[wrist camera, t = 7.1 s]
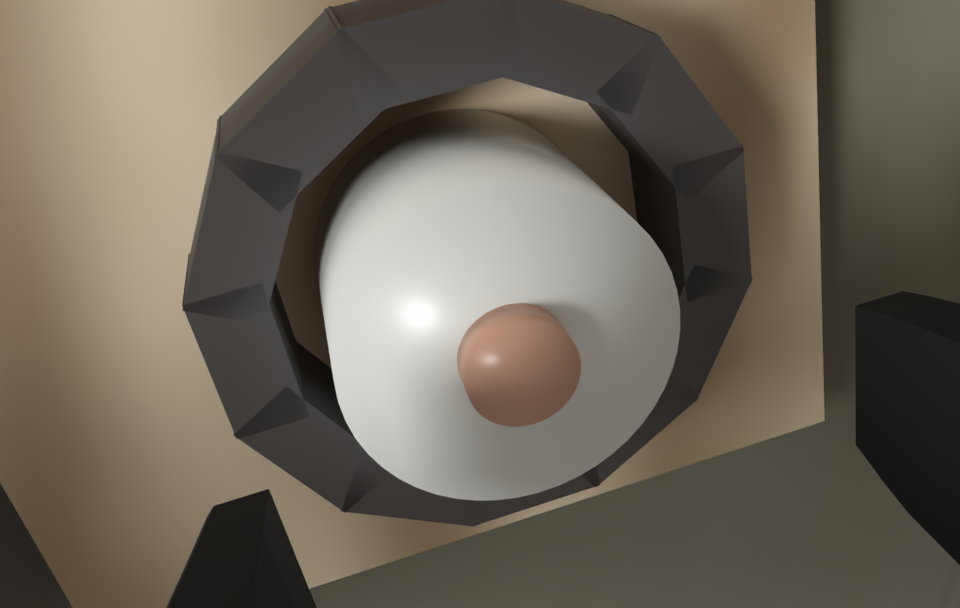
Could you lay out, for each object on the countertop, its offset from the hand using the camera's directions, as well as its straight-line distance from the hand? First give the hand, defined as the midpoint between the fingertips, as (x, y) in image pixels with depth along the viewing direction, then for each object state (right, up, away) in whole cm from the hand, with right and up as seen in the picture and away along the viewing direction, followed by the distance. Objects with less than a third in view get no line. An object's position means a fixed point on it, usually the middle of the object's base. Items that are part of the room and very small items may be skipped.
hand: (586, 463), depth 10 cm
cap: (-2, +3, +6) cm, 7 cm away
